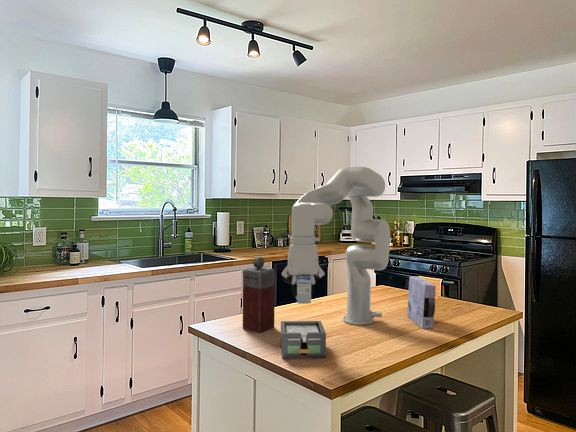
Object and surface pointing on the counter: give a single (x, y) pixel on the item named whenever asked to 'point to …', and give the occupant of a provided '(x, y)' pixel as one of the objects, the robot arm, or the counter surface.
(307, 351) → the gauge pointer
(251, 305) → the red square decanter
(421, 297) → the cake pan box
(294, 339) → the grey hollow square box
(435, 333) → the counter surface
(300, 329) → the light grey flat panel
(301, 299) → the medicine box
